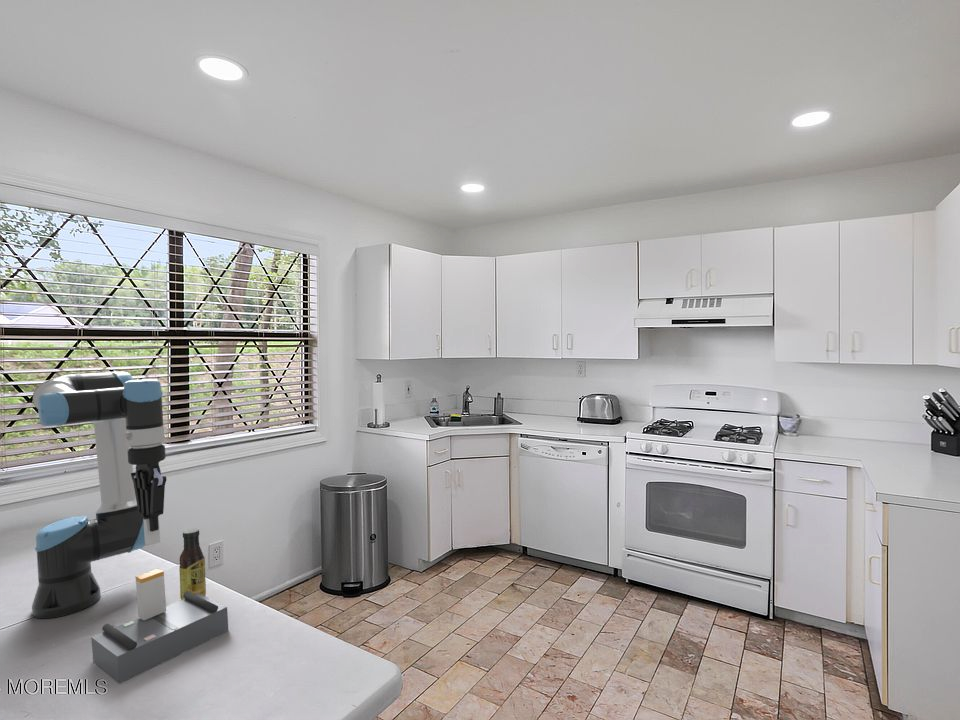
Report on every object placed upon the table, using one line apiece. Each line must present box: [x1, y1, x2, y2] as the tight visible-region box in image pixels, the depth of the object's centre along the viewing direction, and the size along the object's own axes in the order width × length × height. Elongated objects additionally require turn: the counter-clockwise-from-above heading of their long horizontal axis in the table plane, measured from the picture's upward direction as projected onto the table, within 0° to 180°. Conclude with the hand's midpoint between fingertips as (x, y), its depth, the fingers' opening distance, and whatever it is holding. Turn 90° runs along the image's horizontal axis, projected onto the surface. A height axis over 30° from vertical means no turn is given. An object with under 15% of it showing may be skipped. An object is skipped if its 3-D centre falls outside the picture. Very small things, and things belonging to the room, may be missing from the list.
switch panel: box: [90, 593, 229, 685], centre depth 126 cm, size 14×24×6 cm, turn 145°
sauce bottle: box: [179, 528, 207, 600], centre depth 147 cm, size 7×6×20 cm
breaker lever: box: [135, 568, 167, 620], centre depth 128 cm, size 3×5×10 cm, turn 145°
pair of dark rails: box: [101, 591, 218, 650], centre depth 126 cm, size 14×20×2 cm
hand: (152, 543), depth 126 cm, fingers closed
